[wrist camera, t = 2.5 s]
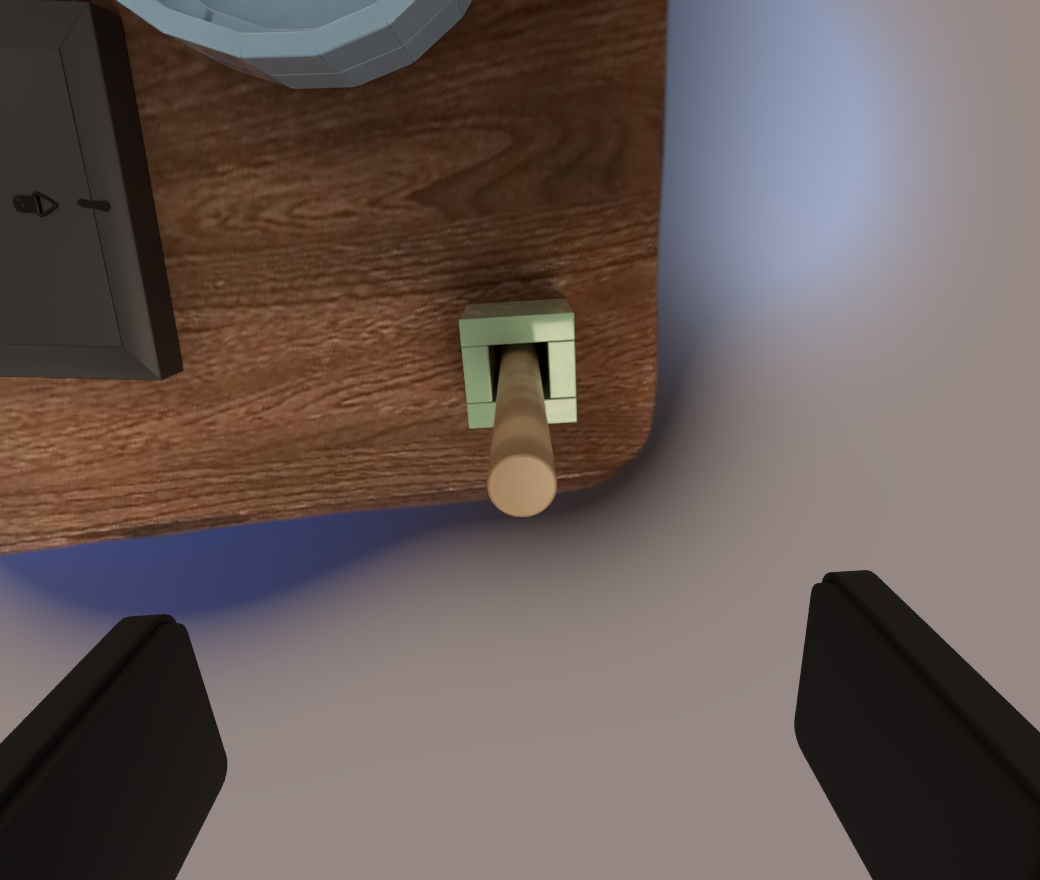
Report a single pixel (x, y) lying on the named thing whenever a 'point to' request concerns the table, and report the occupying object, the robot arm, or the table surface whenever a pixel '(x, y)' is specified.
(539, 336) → the holder
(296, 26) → the light blue round tray
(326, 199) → the table surface
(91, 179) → the picture frame
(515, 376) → the stick
